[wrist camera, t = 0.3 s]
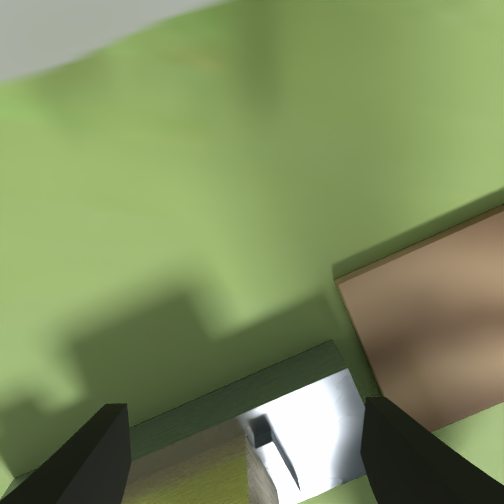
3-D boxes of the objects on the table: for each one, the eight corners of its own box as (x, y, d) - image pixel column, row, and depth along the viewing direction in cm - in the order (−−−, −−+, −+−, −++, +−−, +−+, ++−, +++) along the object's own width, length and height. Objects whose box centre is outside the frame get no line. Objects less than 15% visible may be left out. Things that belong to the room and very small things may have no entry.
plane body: (369, 426, 23) (428, 536, 16) (73, 551, 24) (13, 703, 17) (331, 339, 21) (379, 423, 14) (13, 479, 22) (-80, 617, 16)
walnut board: (555, 368, 23) (566, 375, 22) (398, 433, 23) (403, 443, 23) (514, 199, 20) (525, 201, 19) (334, 280, 20) (338, 284, 20)
